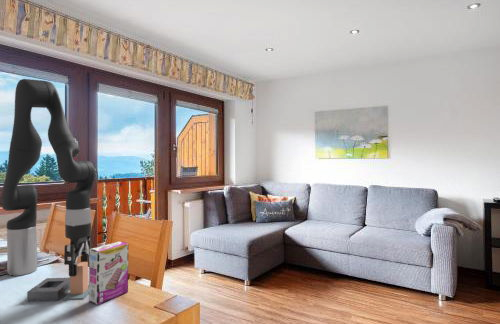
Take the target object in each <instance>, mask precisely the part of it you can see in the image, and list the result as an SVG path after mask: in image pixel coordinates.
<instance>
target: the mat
mask: <svg viewBox="0 0 500 324" xmlns="http://www.w3.org/2000/svg"><path fill="white" fill-rule="evenodd" d="M87 296H89V284H88V289H87V290H86V291H85V292H84V293H83V294H70V292H69V293H68V294H67V295H66V296H65V297H63V300H64V301H65V300H66V301H67V300H69V301H70V300H84V299H85V298H86V297H87Z"/></svg>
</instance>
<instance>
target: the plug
mask: <svg viewBox="0 0 500 324" xmlns="http://www.w3.org/2000/svg"><path fill="white" fill-rule="evenodd" d="M69 278H70V290H69V293H70V294H83V293H84V292H85V291H86V290H87V289H88V285H89V261H88V262H81V261H77V275H76V276H72V277H70V276H69Z"/></svg>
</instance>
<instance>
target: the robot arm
mask: <svg viewBox="0 0 500 324" xmlns="http://www.w3.org/2000/svg"><path fill="white" fill-rule="evenodd" d="M33 108H39V109H40V108H43V109H45V108H46V109H47V111H48V112H49V114H50V123H49V125H48V129H47V138H48V139H47V140H48V141H49V143H50V144H49V145H51V148H52V150H53V152H54V154H55V156H56V162H57V163H56V164H57V171H58V174H59V177H60V178H61V180H62V181H64V182H65V183H68V184H74V183H76V185H75V188H73V189H71V190H68V191H67V192H66V194H65V214H64V218H65V219H64V222H65V223H64V227H65V230H64V231H65V233H64V236H65V238H66V239H69V240H70V242H69V244H66V245H64V254H63V255H64V257H63V258H64V261H63V262H64V263H63V264H64V265H65V266H68V276H69V278H70V277H72V276H76V275H77V262H79V261H78V259H79V258H80V262H88V263H89V249H92V210H91V194H92V190H93V186H94V183H95V179H96V168H95V165H94V164H93V163H92V162H91V161H89V160H74V158H76V156H78V155H79V153H80V148H79V145H78V143H77V142H76V139H75V138H74V136H73V134H72V132H71V129H70V127H69V124H68V122H67V118H66V115H65V112H64V108H63V104H62V100H61V98H60V95H59V93H58V90H57V88H56V86H55V85H54V83H52V82H51V81H49V80H41V79H40V80H39V79H30V78H22V79H20V80H19V81H18V82H17V84H16V87H15V93H14V116H13V117H14V119H13V125H12V126H13V127H12V133H11V138H10V144H9V149H8V150H9V151H8V161H7V167H6V168H7V169H6V174H5V179H4V182H3V186H2V189H1V195H0V205H1V208H2V209H3V210H4V211H7V212H8V211H11V212H12V211H20V210H23V212H22V213H20V214H19V215H18V216H16V217H15V216H14V217H13V218H11V219H9V220H8V221H6V246H7V247H6V254H7V255H6V256H7V261H6V263H7V267H6V268H7V275H8V274H9V275H8V276H11V275H13V276H15V277H16V276H24V275H29V274H31V273H34V272H36V271H37V269H38V243H37V217H38V215H37V212H38V211H37V210H38V209H37V208H38V190H37V188H36V186H34V185H33V184H26V185H19V183H20V181H21V180H22V178H23V177H24V176H25V175H26V174H28V172H30V170H32V168H34V166H36V164H37V163H38V162H39V160H40V157H41V152H42V147H43V141H42V138H41V136H40V134H39V132H38V130H37V129H36V128H35V126H34V125H33V122H32V109H33Z"/></svg>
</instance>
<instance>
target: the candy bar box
mask: <svg viewBox="0 0 500 324" xmlns="http://www.w3.org/2000/svg"><path fill="white" fill-rule="evenodd" d="M88 285H89V294H88V302H90V303H92V304H94V305H97V306H99V305H101V304H104V303H105V302H108V301H111V300H113V299H116V298H117V297H120V296H122V295H124V294H126V293H129V243H127V242H123V241H115V242H112V243H109V244H108V243H107V244H104V245H101V246H95V247H93V248H92V247H91V249H89V255H88Z"/></svg>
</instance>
